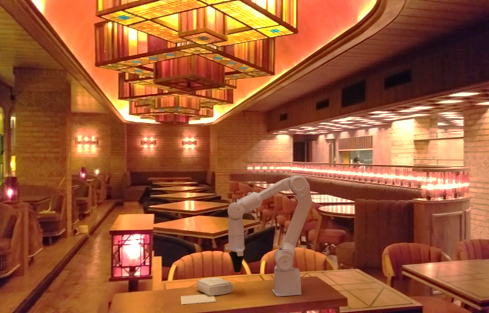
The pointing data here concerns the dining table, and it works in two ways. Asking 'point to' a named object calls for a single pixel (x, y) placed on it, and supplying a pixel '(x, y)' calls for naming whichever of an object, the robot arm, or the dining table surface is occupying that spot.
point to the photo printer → (214, 286)
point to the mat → (197, 299)
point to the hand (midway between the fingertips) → (237, 271)
